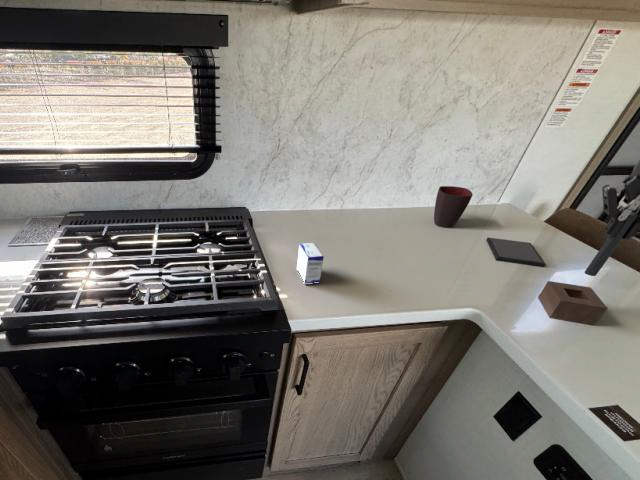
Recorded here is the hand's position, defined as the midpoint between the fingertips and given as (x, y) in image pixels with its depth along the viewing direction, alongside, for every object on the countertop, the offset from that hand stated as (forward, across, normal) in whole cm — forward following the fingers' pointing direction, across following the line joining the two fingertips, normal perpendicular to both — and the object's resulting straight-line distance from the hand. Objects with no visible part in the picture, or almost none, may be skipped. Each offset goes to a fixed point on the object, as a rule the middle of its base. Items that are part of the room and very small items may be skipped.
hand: (616, 236), depth 71 cm
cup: (+20, -22, +47) cm, 55 cm away
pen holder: (+19, 0, 0) cm, 19 cm away
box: (+19, -61, -5) cm, 64 cm away
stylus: (+9, 0, 0) cm, 9 cm away
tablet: (+20, -4, +29) cm, 35 cm away
